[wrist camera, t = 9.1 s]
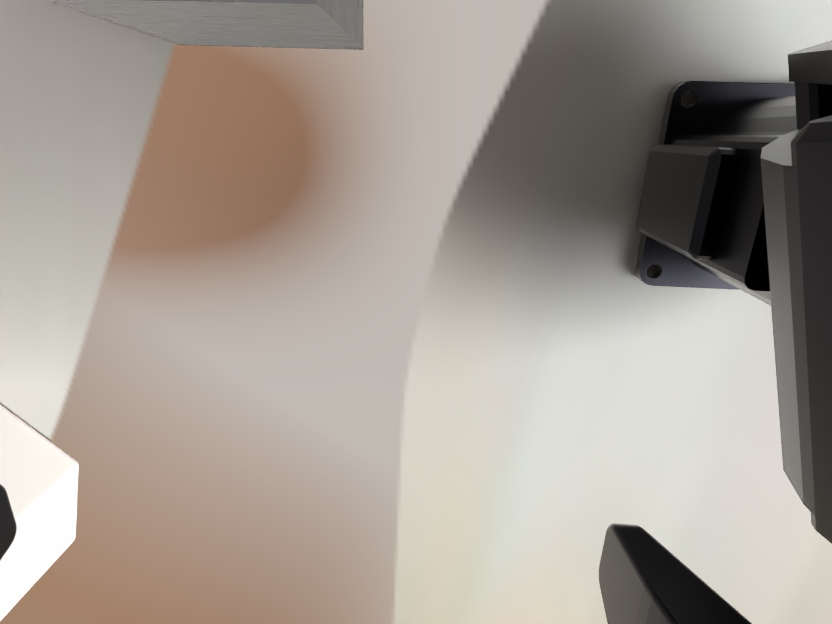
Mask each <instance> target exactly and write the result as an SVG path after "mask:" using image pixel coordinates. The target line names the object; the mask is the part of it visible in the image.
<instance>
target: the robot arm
mask: <svg viewBox="0 0 832 624" xmlns="http://www.w3.org/2000/svg"><path fill="white" fill-rule="evenodd" d="M788 65H789V81H793V82H795V84H781V83H744V82H708V81H690V82H685V83H680V84H678V85H677V86H675V87H674V88H673V89H672V90H671V91H670V93H669V95H668V98H667V102H666V107H665V112H664V118H663V123H662V129H661V134H660V139H659V145H657V146H656V147H654V148H653V149H652V150H651V151H650V153H649V157H648V163H647V169H646V174H645V180H644V185H643V191H642V196H641V202H640V207H639V213H638V218H637V224H636V226H637V228H638V229H639V230H640V231H641V233H642V237H641V242H640V247H639V253H638V258H637V264H636V275H637V277H638V278H639V279H640V280H642V281H643V282H644V283H646V284H648V285H653V286H675V287H697V288H719V289H741V290H743V291H744V292H746V293H748V294H750V295H752V296H754V297H756V298H758V299H759V300H761V301H763V302H765V303H767V304H769V305H771V307H772V321H773V334H774V348H775V362H776V375H777V389H778V402H779V416H780V429H781V443H782V456H783V470H784V471H785V473H786V475H787V477H788V478H789V480H790V482H791V483H792V485H793V487H794V489H795V490H796V492H797V494H798V495H799V497H800V499H801V501H802V502H803V504H804V505H805V506H806V507H807V508H808V509H809V510H810V511H811V522H812V525H813V526H814V528H815V530H816V531H818V532H819V533H820V534H821V535H822V536H823V537H825V538H826V539H827V540H828V541H829V542H831V543H832V41H829V42H826V43H822V44H819V45H816V46H813V47H809V48H806V49H803V50H800V51H796V52H793V53H790V54H788ZM685 91H687V92H689V93H690V94H691V99H692V100H691V102H690V104H689V105H688V106H687V107H683V106H682V105H681V103H680V98H681V96H682V94H683V93H684V92H685ZM655 264H657V268H658V269H657V271H656V273H655V274H653V275H650V276H648V275H647V270H648V268H649V267H650V266H651V265H655ZM16 532H17V525H16V521H15V518H14V514H13V511H12V508H11V504H10V501H9V498H8V494H7V491H6V489H5V488H4V487H3V486H2V485H1V484H0V560H1V559H2V557H3V556H4V555H5V553H6V552H7V550H8V549H9V547H10V546H11V544H12V543H13V541H14V538H15V536H16ZM599 583H600V588H601V593H602V598H603V603H604V608H605V613H606V617H607V622H608V624H752V623H750V622H749V621H748V620H747V619H746V618H745V617H744V616H742V615H741V614H740V613H739V612H738V611H737V610H736V609H734V608H733V607H732V606H731V605H730V604H729V603H728V602H726V601H725V600H724V599H723V598H722V597H721V596H720V595H718V594H717V593H716V592H715V591H714V590H713V589H712V588H710V587H709V586H708V585H707V584H706V583H705V582H704V581H702V580H701V579H700V578H699V577H698V576H697V575H696V574H694V573H693V572H692V571H691V570H690V569H689V568H688V567H686V566H685V565H684V564H683V563H682V562H681V561H680V560H678V559H677V558H676V557H675V556H674V555H673V554H672V553H670V552H669V551H668V550H667V549H666V548H665V547H664V546H662V545H661V544H660V543H659V542H658V541H657V540H656V539H654V538H653V537H652V536H651V535H650V534H649V533H648V532H646V531H645V530H644V529H643V528H641V527H640V526H637V525H627V524H612V525H610V526H609V527H608V529H607V531H606V536H605V541H604V546H603V551H602V556H601V561H600V566H599Z"/></svg>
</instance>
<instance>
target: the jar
mask: <svg viewBox="0 0 832 624" xmlns="http://www.w3.org/2000/svg"><path fill="white" fill-rule="evenodd" d="M78 471H79V464H78V462H77V461H76V460H74V459H73V458H72V457H70V456H69V455H68V454H66V453H65V452H64V451H62V450H61V449H60V448H58V447H57V446H55V445H54V444H53V443H52V442H50V441H49V440H48V439H46V438H45V437H44V436H42V435H41V434H40V433H38V432H37V431H35V430H34V429H33V428H31V427H30V426H29V425H27V424H26V423H25V422H23V421H22V420H21V419H19V418H18V417H17V416H15V415H14V414H13V413H11V412H10V411H9V410H7V409H6V408H5V407H3V406H2V405H1V404H0V484H1V485H2V486H3V487H4V488H5V489H6V491H7V494H8V498H9V501H10V504H11V508H12V511H13V514H14V518H15V521H16V525H17V532H16V536H15V538H14V541H13V543H12V544H11V546H10V547H9V549H8V550H7V552H6V553H5V555H4V556H3V557H2V559H1V560H0V621H1V620H2V619H3V618H4V617H5V616H6V615H7V614H8V612H9V611H10V610H11V609H12V608H13V607H14V606H15V605H16V604H17V603H18V601H19V600H20V599H21V598H22V597H23V596H24V595H25V594H26V593H27V592H28V591H29V589H30V588H31V587H32V586H33V585H34V584H35V583H36V582H37V581H38V580H39V579H40V577H41V576H42V575H43V574H44V573H45V572H46V571H47V570H48V569H49V568H50V567H51V565H52V564H53V563H54V562H55V561H56V560H57V559H58V558H59V557H60V556H61V555H62V553H63V552H64V551H65V550H66V549H67V548H68V547H69V546H70V545H71V544H72V542H73V541H74V540H75V538H76V516H77V494H78V473H79V472H78Z"/></svg>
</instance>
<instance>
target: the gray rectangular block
mask: <svg viewBox="0 0 832 624" xmlns="http://www.w3.org/2000/svg"><path fill="white" fill-rule="evenodd" d="M48 1H51V2H54V3H57V4H60V5H63V6H66V7H69V8H72V9H75V10H78V11H81V12H84V13H87V14H90V15H93V16H96V17H99V18H102V19H105V20H108V21H111V22H114V23H117V24H120V25H123V26H126V27H129V28H132V29H135V30H138V31H141V32H144V33H147V34H150V35H153V36H156V37H159V38H162V39H165V40H168V41H171V42H174V43H177V44H180V45H206V46H245V47H282V48H283V47H284V48H285V47H286V48H323V49H360V50H361V49H362V50H363V0H48Z"/></svg>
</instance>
